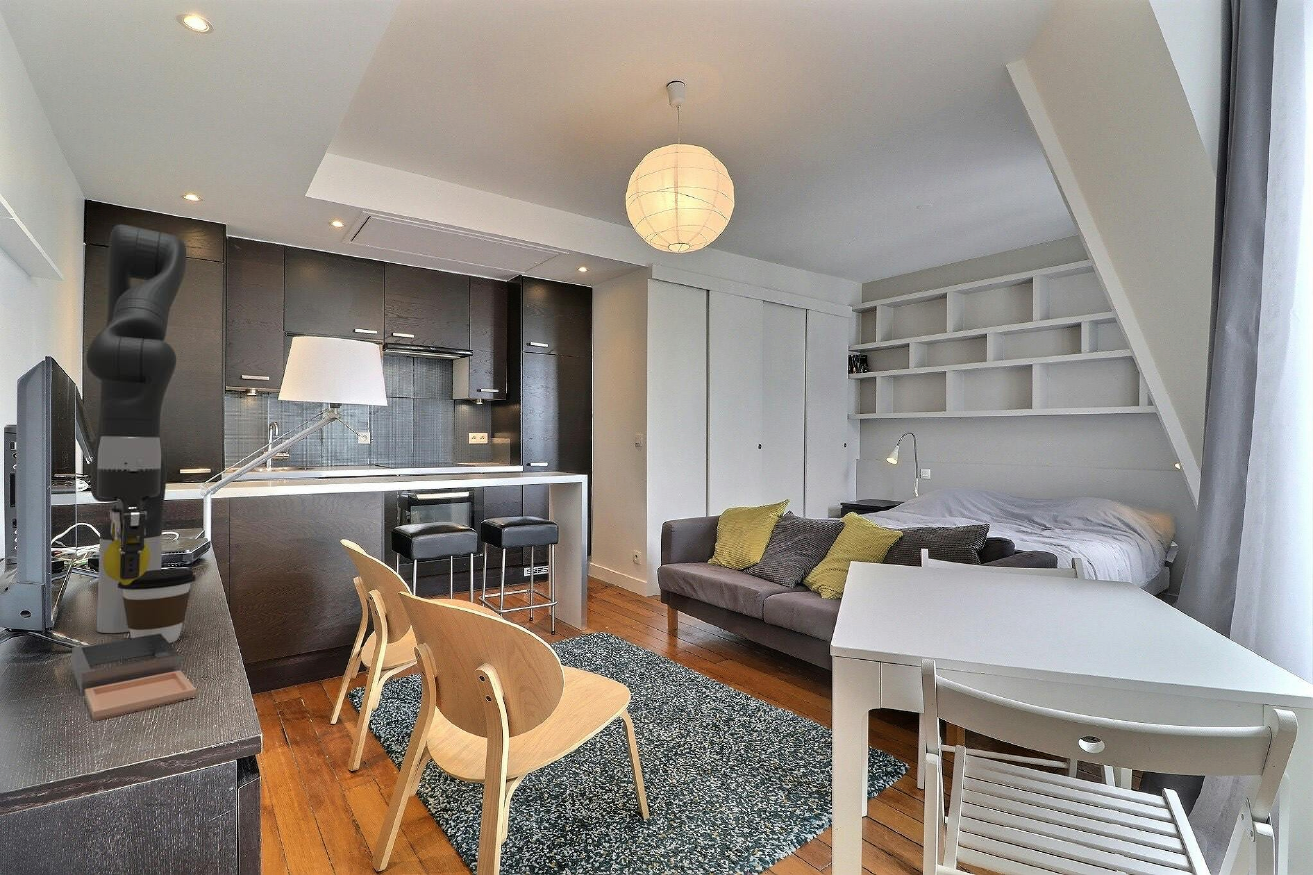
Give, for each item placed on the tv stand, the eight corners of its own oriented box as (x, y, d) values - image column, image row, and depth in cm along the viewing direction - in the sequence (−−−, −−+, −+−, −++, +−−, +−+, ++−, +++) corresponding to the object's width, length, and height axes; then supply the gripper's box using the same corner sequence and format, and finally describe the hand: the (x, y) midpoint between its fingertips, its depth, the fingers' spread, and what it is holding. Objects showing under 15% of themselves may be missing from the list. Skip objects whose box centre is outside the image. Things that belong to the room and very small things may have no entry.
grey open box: (71, 667, 98) (71, 647, 98) (160, 651, 106) (160, 633, 106) (81, 695, 87) (82, 673, 87) (179, 675, 95) (180, 655, 95)
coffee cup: (184, 647, 108) (185, 577, 109) (104, 654, 104) (106, 582, 105) (202, 630, 119) (203, 566, 119) (130, 636, 114) (132, 570, 115)
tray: (84, 698, 86) (84, 689, 86) (180, 678, 94) (180, 670, 94) (93, 721, 79) (93, 711, 79) (195, 697, 87) (196, 689, 87)
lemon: (122, 590, 94) (123, 536, 94) (92, 587, 95) (94, 534, 95) (158, 582, 99) (159, 531, 99) (130, 580, 100) (131, 530, 101)
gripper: (92, 465, 100) (89, 571, 99) (103, 468, 90) (99, 587, 90) (152, 464, 105) (149, 566, 105) (169, 467, 95) (165, 579, 95)
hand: (126, 575), depth 97 cm, fingers closed on lemon, 5 cm apart
